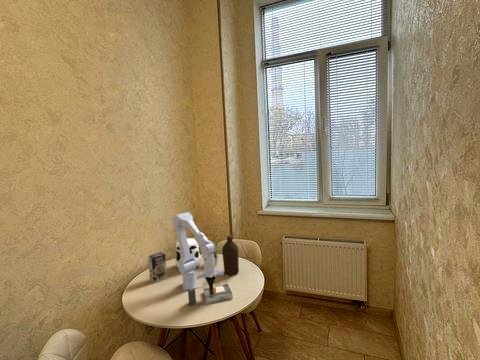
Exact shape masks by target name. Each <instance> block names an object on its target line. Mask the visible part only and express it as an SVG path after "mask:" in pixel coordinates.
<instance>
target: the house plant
mask: <svg viewBox="0 0 480 360" xmlns="http://www.w3.org/2000/svg"><path fill="white" fill-rule="evenodd" d="M218 243H219V242H218V241H217V242H216V243H215V246H216V251H215V252H213V253H214V262H215V267H217V266H218V260H219V255H218V254H219V252H221V249H220V248H221V247H222V248H223V246H221V245H222V243H220V244H218ZM216 265H217V266H216Z"/></svg>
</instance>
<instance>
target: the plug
mask: <svg viewBox="0 0 480 360" xmlns="http://www.w3.org/2000/svg"><path fill="white" fill-rule="evenodd" d="M187 296H188V306H189V307H192V306H197V296H196V288H195V289H192V288H191V289H189V290H187Z"/></svg>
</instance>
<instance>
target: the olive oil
mask: <svg viewBox="0 0 480 360" xmlns="http://www.w3.org/2000/svg"><path fill="white" fill-rule="evenodd" d="M221 252H222V262H223V263H222V264H223V274H224V275H225V274H226V275H225V276H228V275H229V277H231V276H232V275H234V276H236V274H237V273H238V272H240V271H239V270H240V268H239V264H240V263H239V247H238V245H237V244H236V243H235V242H234V241H233V236H232V234H227V235H226V242H225V243H224V244H223V246H222V248H221ZM238 274H239V273H238ZM238 274H237V275H238ZM232 277H233V276H232Z"/></svg>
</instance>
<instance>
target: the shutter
mask: <svg viewBox="0 0 480 360" xmlns="http://www.w3.org/2000/svg"><path fill="white" fill-rule="evenodd" d="M215 286H216V285H215V283H214V284H213V289H212V290H213V293H214V294H217V293H222V292H225V290H224V288H223V286H219V287H215Z"/></svg>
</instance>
